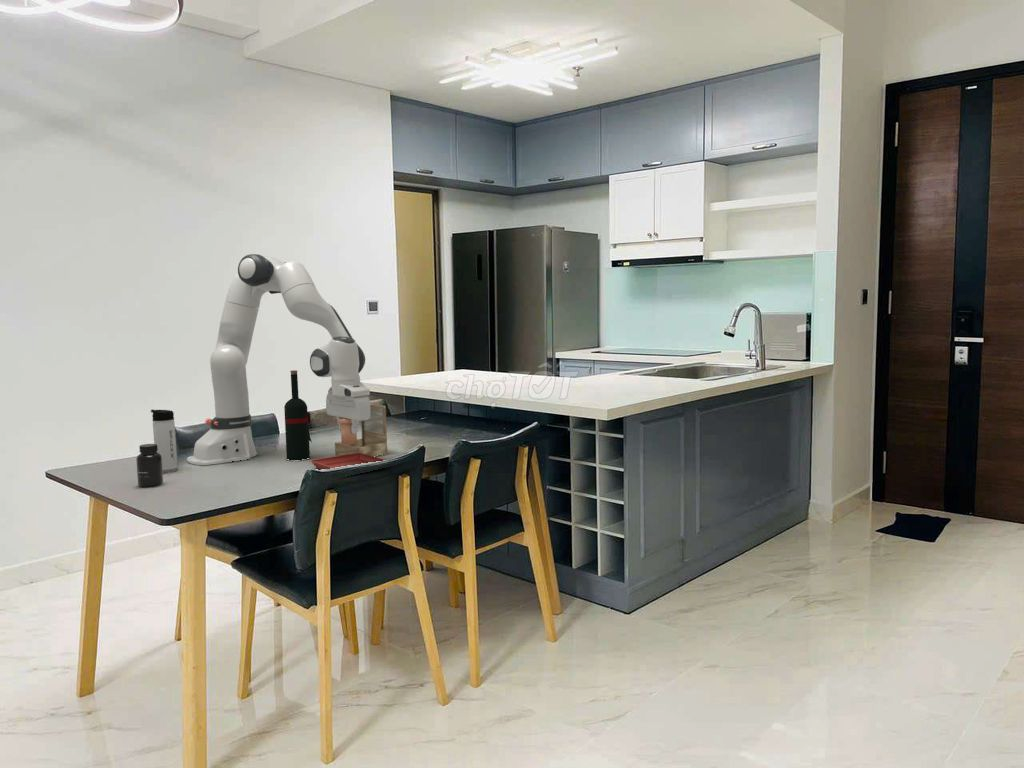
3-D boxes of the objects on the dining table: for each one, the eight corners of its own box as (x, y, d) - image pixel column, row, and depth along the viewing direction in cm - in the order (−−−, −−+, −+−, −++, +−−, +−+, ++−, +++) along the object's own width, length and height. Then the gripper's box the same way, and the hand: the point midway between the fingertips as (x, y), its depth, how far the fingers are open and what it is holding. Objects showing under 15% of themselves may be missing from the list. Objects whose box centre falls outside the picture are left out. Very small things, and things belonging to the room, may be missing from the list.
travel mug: (155, 470, 246) (150, 408, 244) (177, 468, 249) (173, 407, 246) (154, 474, 240) (150, 411, 238) (177, 472, 243) (173, 409, 240)
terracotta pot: (346, 445, 238) (345, 420, 237) (336, 443, 242) (335, 418, 241) (362, 442, 242) (361, 417, 241) (352, 440, 246) (350, 416, 245)
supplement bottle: (137, 488, 222) (134, 448, 221) (138, 483, 229) (135, 444, 227) (163, 486, 225) (160, 445, 224) (163, 481, 231) (160, 442, 230)
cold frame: (357, 460, 255) (355, 410, 253) (335, 454, 265) (333, 406, 263) (387, 454, 264) (385, 406, 262) (364, 449, 274) (362, 402, 272)
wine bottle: (319, 455, 263) (315, 369, 260) (299, 461, 254) (294, 372, 251) (302, 454, 267) (298, 368, 263) (281, 459, 258) (276, 371, 254)
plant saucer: (360, 461, 256) (359, 451, 255) (388, 470, 242) (388, 459, 242) (309, 470, 244) (309, 460, 243) (337, 479, 230) (336, 469, 230)
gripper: (319, 387, 245) (322, 429, 247) (355, 392, 231) (357, 437, 232) (337, 385, 250) (339, 427, 251) (373, 389, 235) (375, 434, 237)
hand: (348, 432), depth 242 cm, fingers closed on terracotta pot, 5 cm apart
